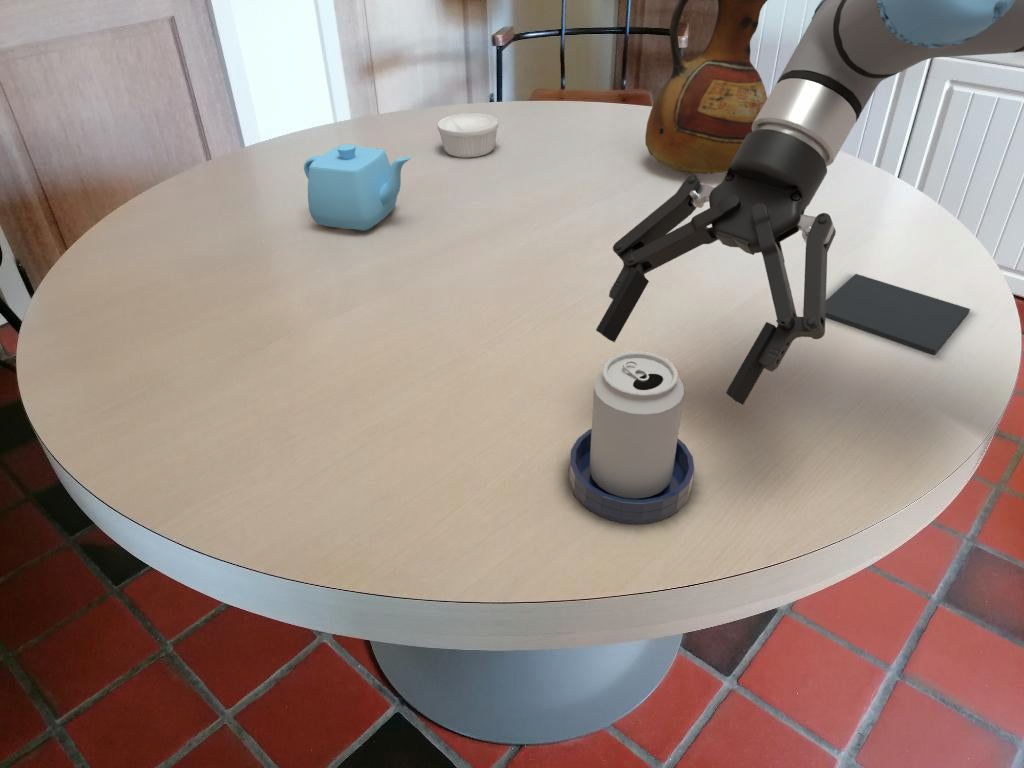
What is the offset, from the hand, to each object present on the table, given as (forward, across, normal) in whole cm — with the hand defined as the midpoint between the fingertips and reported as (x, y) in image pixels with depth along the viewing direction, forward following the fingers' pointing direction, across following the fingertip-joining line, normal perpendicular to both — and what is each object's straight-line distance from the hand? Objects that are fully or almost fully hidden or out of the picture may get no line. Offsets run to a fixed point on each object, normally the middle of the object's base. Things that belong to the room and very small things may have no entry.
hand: (665, 366), depth 65 cm
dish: (+10, 0, -5) cm, 11 cm away
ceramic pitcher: (-40, +41, -56) cm, 80 cm away
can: (+10, 0, -5) cm, 11 cm away
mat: (-22, -5, -37) cm, 43 cm away
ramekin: (-25, +78, -40) cm, 91 cm away
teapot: (-2, +66, -17) cm, 68 cm away
